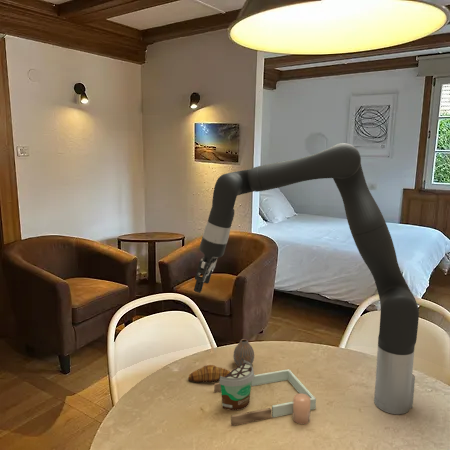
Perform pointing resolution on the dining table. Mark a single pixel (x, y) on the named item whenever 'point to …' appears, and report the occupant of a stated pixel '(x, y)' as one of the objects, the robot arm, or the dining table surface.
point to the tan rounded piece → (301, 408)
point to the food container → (237, 387)
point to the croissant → (208, 374)
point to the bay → (281, 376)
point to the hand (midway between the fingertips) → (201, 286)
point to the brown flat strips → (246, 413)
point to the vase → (243, 353)
